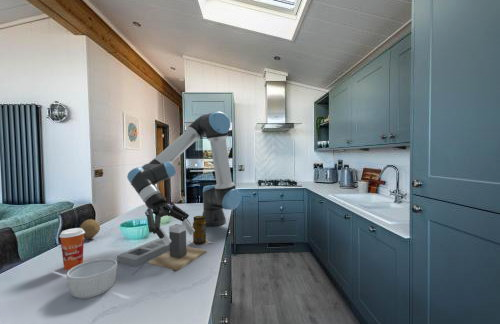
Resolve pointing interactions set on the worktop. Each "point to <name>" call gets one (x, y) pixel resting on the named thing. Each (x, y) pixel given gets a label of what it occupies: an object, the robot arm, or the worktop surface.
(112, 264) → the ramekin
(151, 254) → the grey slotted holder
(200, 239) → the condiment
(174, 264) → the tan cloth
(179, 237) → the charger
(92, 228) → the natural sponge
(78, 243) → the paper cup
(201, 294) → the worktop surface
